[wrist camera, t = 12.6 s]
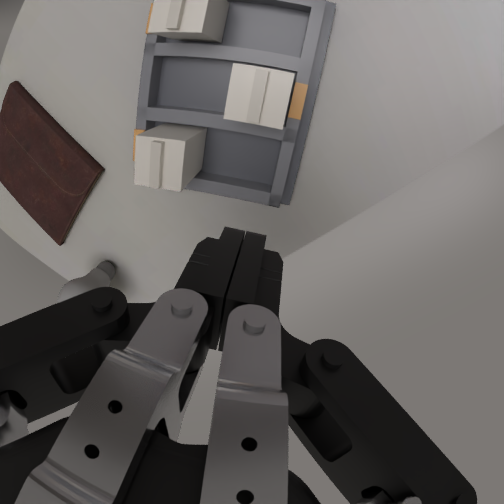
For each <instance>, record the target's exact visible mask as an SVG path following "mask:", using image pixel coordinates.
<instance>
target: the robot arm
mask: <svg viewBox="0 0 504 504" xmlns="http://www.w3.org/2000/svg"><path fill="white" fill-rule="evenodd" d="M244 235H245V231H243V230H238V229H234V228H229V227H225V228H224V230H223V232H222V234H221V236H220V239H214V238H210V237H207V238H206V239H204V240H202V241H201V242H199V243H198V244H197V246H196V248H195V250H194V252H193V254H192V255H191V257H190V259H189V262H188V263H187V265H186V267H185V269H184V270H183V272H182V274H181V276H180V278H179V280H178V282H177V284H176V286H175V288H174V289H172V290H169V291H167V292H165V293H163V294H162V295H161V296H160V297H159V298H158V300H157V301H156V302H153V303H127V300H126V297H125V295H124V294H123V293H122V292H121V291H119V290H118V289H115V288H112V287H99V288H95V289H92V290H90V291H87V292H84V293H82V294H79V295H77V296H74V297H72V298H69V299H67V300H64V301H62V302H59V303H57V304H54V305H52V306H49V307H47V308H44V309H42V310H39V311H37V312H34V313H32V314H29V315H27V316H24V317H22V318H19V319H17V320H15V321H12V322H10V323H7V324H5V325H2V326H0V504H321V503H320V502H319V501H318V500H317V498H316V497H315V495H314V494H313V493H312V491H311V490H310V489H309V487H308V486H307V485H306V484H305V483H304V482H303V481H302V480H301V479H300V478H299V477H298V476H297V475H295V474H294V473H293V472H291V471H290V470H288V425H289V426H290V427H291V429H292V430H293V431H294V433H295V434H296V435H297V437H298V438H299V440H300V441H301V442H302V444H303V445H304V446H305V447H306V449H307V450H308V451H309V453H310V454H311V455H312V457H313V458H314V459H315V461H316V462H317V463H318V464H319V466H320V467H321V468H322V470H323V471H324V472H325V473H326V475H327V476H328V477H329V478H330V480H331V481H332V482H333V483H334V485H335V486H336V487H337V488H338V489H339V491H340V492H341V493H342V494H343V495H344V497H345V498H346V499H347V500H348V501H349V503H350V504H477V496H476V492H475V490H474V488H473V487H472V485H471V484H470V483H469V482H468V481H467V480H466V479H465V477H464V476H463V475H462V474H461V473H460V472H459V471H458V470H457V469H456V467H455V466H454V465H453V464H452V463H451V462H450V460H449V459H448V458H447V457H446V456H445V455H444V454H443V453H442V452H441V450H440V449H439V448H438V447H437V446H436V445H435V444H434V443H433V441H432V440H431V439H430V438H429V437H428V436H427V435H426V434H425V432H424V431H423V430H422V429H421V428H420V427H419V426H418V425H417V423H416V422H415V421H414V420H413V419H412V418H411V417H410V416H409V414H408V413H407V412H406V411H405V410H404V409H403V408H402V407H401V406H400V405H399V403H398V402H397V401H396V400H395V399H394V398H393V397H392V396H391V394H390V393H389V392H388V391H387V390H386V389H385V388H384V387H383V386H382V384H381V383H380V382H379V381H378V380H377V379H376V378H375V377H374V376H373V374H372V373H371V372H370V371H369V370H368V369H367V368H366V367H365V366H364V365H363V363H362V362H361V361H360V360H359V359H358V358H357V357H356V356H355V355H354V353H353V352H352V351H351V350H350V349H349V348H348V347H347V346H345V345H344V344H342V343H340V342H338V341H336V340H332V339H321V340H317V341H315V342H313V343H312V344H311V345H310V344H307V343H305V342H303V341H301V340H299V339H297V338H295V337H293V336H292V335H290V334H289V333H288V332H287V331H286V330H285V329H284V328H283V326H282V325H281V323H280V320H279V305H280V294H281V281H282V271H283V261H282V259H281V257H280V255H279V253H278V252H275V251H270V250H265V249H264V246H265V241H266V235H262V234H257V233H253V232H248V231H247V232H246V235H245V238H244ZM219 338H220V342H219V349H218V350H219V351H223V352H222V358H221V364H220V370H219V376H218V382H217V389H216V395H215V402H214V408H213V415H212V421H211V428H210V435H209V441H208V445H188V444H180V443H177V439H178V436H179V433H180V429H181V424H182V420H183V416H184V413H185V411H186V408H187V406H188V403H189V401H190V399H191V396H192V394H193V391H194V389H195V386H196V384H197V381H198V379H199V376H200V374H201V371H202V368H203V363H204V362H205V359H206V356H207V352H208V349H214V350H216V349H217V345H218V341H219ZM75 352H76V353H75ZM78 401H79V402H78ZM76 402H78V403H77V405H76V407H75V408H74V410H73V412H72V414H71V415H70V416H69V417H66V418H63V419H60V420H58V421H56V422H54V423H52V424H50V425H48V426H46V427H44V428H42V429H39V430H38V431H35V432H33V433H31V434H29V435H28V429H27V424H28V423H30V422H32V421H35V420H37V419H40V418H42V417H44V416H46V415H49V414H51V413H54V412H56V411H58V410H60V409H63V408H65V407H67V406H69V405H72V404H74V403H76Z"/></svg>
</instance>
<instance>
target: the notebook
mask: <svg viewBox="0 0 504 504" xmlns="http://www.w3.org/2000/svg"><path fill="white" fill-rule="evenodd" d="M104 170H105V169H104V168H103V167H102V166H101V165H100V164H99V163H98V162H97V161H96V160H95V159H94V158H93V157H92V156H91V155H90V154H89V153H88V152H87V151H86V150H85V149H84V148H83V147H82V146H80V145H79V144H78V143H77V142H76V141H75V140H74V139H73V138H72V137H71V136H70V135H69V134H68V133H67V132H66V131H65V130H64V129H63V128H62V127H61V126H60V125H59V124H58V123H57V122H56V121H55V120H54V119H53V117H52V116H51V115H50V114H49V113H48V112H47V111H46V110H45V109H44V108H43V107H42V106H41V105H40V104H39V103H38V102H37V101H36V100H35V99H34V98H33V97H32V96H31V95H30V94H29V93H28V92H27V90H26V89H25V88H24V87H23V86H22V85H21V84H20V83H19V82H18V81H14V82H12V83H11V84H10V85H9V87H8V90H7V92H6V95H5V98H4V100H3V104H2V109H1V112H0V181H1V183H2V184H3V185H4V186H5V187H6V189H7V190H8V191H9V192H10V193H11V195H12V196H13V197H14V198H15V199H16V200H17V201H18V203H19V204H20V205H21V206H22V207H23V208H24V209H25V210H26V212H27V213H28V214H29V215H30V216H31V217H32V218H33V219H34V220H35V221H36V222H37V223H38V224H39V225H40V226H41V228H42V229H43V230H44V231H45V232H46V233H47V234H48V235H49V236H50V237H51V238H52V239H53V240H54V241H55V242H56V243H57V244H58V245H59V246H61V245H62V244H63V243H64V240H65V238H66V236H67V234H68V232H69V230H70V228H71V226H72V224H73V222H74V220H75V218H76V216H77V215H78V213H79V211H80V209H81V207H82V205H83V204H84V202H85V200H86V198H87V197H88V195H89V193H90V191H91V190H92V188H93V186H94V185H95V183H96V181H97V180H98V178H99V176H100V175H101V173H102V171H104Z"/></svg>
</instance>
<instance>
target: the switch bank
mask: <svg viewBox="0 0 504 504" xmlns="http://www.w3.org/2000/svg"><path fill="white" fill-rule="evenodd" d="M227 1H228V2H229V3H230V4H229V8H228V13H227V18H226V22H225V27H224V32H223V37H222V42H221V43H215V42H200V41H177V40H174V39H170V38H167V37H163V36H159V35H155V34H152V33H148V28H149V22H150V17H151V13H152V8H153V3H154V2H153V3H151V8H150V13H149V18H148V23H147V28H146V34H147V37H146V43H145V49H144V56H143V63H142V70H141V78H140V87H139V96H138V107H137V120H136V129H134V147H133V161H134V172H135V141H136V135H138V134H140V133H142V132H145V131H147V130H149V129H152V128H154V127H157V126H159V125H161V124H164V123H174V124H183V125H191V126H199V127H206V128H207V133H206V140H205V148H204V156H203V164H202V169H201V170H200V171H199V172H198V173H197V175H196V176H195V177H194V178H193V179H192V180H191V181H190V182H189V183H188V184H187V185H186V187H185V188H184V189H189V190H194V191H200V192H205V193H210V194H216V195H221V196H226V197H231V198H236V199H241V200H245V201H250V202H255V203H260V204H264V205H269V206H274V207H278V208H279V206H280V203H282V204H286V205H289V204H290V200H291V196H292V192H293V188H294V184H295V181H296V177H297V173H298V169H299V165H300V161H301V157H302V153H303V149H304V144H305V140H306V136H307V132H308V128H309V124H310V120H311V115H312V111H313V107H314V103H315V99H316V94H317V90H318V86H319V81H320V77H321V72H322V68H323V63H324V59H325V54H326V50H327V45H328V41H329V36H330V31H331V27H332V22H333V17H334V12H335V7H336V3H332V2H329V1H326V0H227ZM233 63H238V64H245V65H252V66H258V67H264V68H270V69H275V70H280V71H285V72H290V73H295V74H294V79H293V84H292V88H291V93H290V97H289V102H288V107H287V111H286V116H285V120H284V125H283V130H281V129H276V128H271V127H267V126H261V125H256V124H251V123H245V122H240V121H234V120H228V119H223V118H224V112H225V106H226V100H227V94H228V88H229V83H230V77H231V72H232V66H233Z"/></svg>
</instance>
